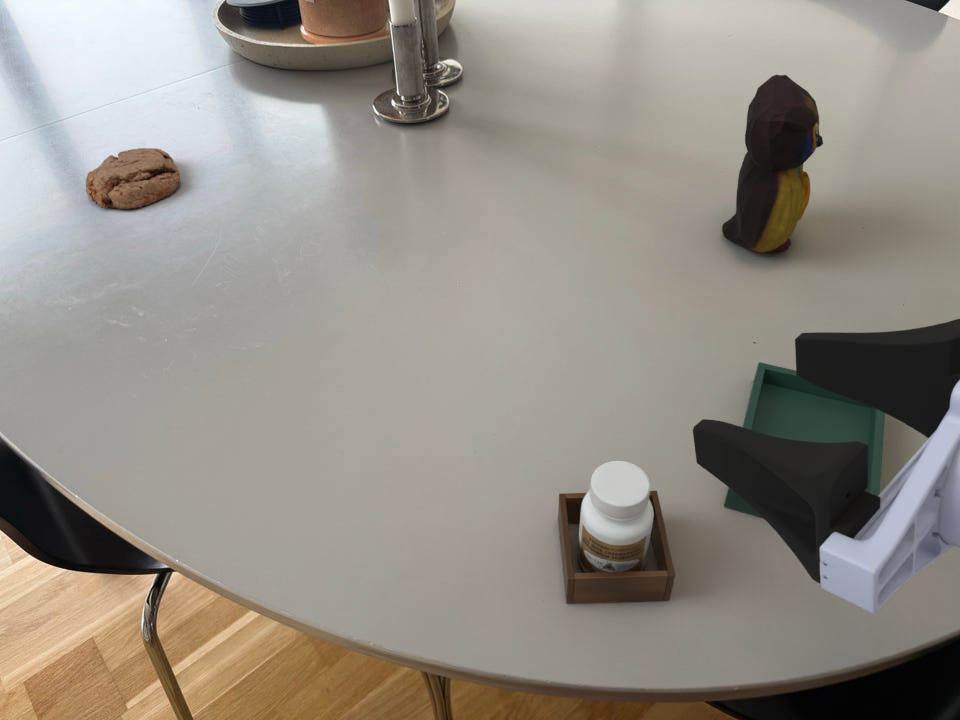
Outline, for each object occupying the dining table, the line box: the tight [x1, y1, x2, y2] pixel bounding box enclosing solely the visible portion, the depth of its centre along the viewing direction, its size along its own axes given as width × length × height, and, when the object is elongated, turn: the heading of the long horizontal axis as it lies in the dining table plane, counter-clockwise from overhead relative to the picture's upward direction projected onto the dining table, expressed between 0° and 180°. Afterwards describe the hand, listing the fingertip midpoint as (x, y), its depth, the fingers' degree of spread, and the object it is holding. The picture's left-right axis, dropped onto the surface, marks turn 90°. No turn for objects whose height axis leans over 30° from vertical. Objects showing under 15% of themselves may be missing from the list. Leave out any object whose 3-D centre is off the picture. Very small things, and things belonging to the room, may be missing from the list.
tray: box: [723, 361, 886, 519], centre depth 58 cm, size 13×9×2 cm
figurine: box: [721, 74, 824, 253], centre depth 73 cm, size 10×7×15 cm
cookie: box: [85, 147, 181, 210], centre depth 89 cm, size 10×11×3 cm
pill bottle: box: [576, 460, 654, 573], centre depth 50 cm, size 4×4×8 cm
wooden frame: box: [557, 490, 676, 604], centre depth 52 cm, size 6×6×3 cm
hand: (751, 395), depth 36 cm, fingers open, 7 cm apart
